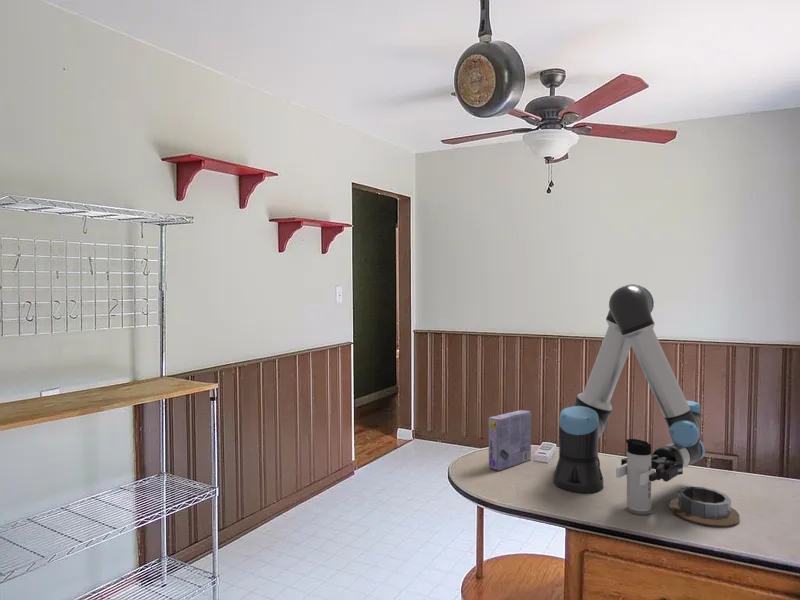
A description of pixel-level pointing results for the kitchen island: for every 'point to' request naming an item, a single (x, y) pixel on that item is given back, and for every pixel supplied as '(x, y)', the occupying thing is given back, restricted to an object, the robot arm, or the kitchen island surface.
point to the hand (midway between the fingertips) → (629, 476)
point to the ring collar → (704, 507)
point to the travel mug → (638, 476)
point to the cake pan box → (509, 439)
